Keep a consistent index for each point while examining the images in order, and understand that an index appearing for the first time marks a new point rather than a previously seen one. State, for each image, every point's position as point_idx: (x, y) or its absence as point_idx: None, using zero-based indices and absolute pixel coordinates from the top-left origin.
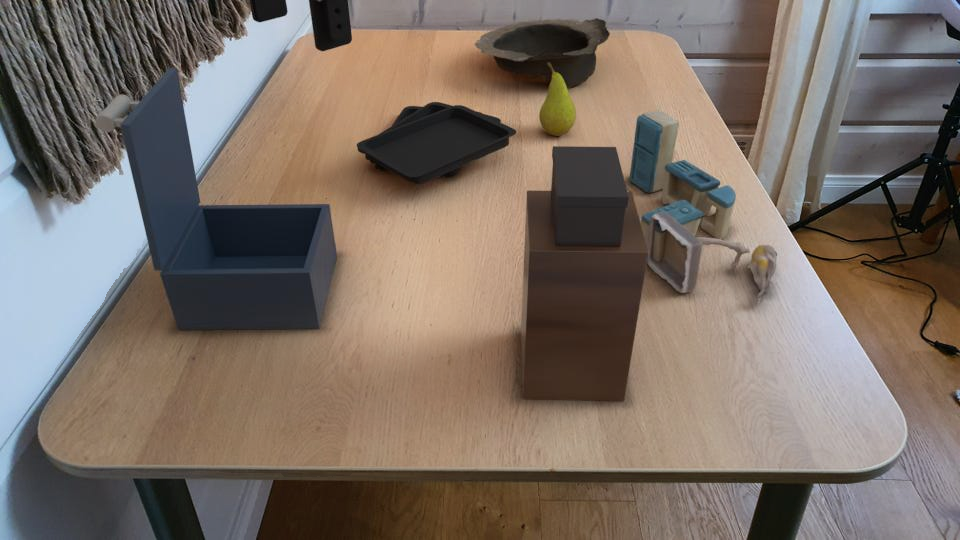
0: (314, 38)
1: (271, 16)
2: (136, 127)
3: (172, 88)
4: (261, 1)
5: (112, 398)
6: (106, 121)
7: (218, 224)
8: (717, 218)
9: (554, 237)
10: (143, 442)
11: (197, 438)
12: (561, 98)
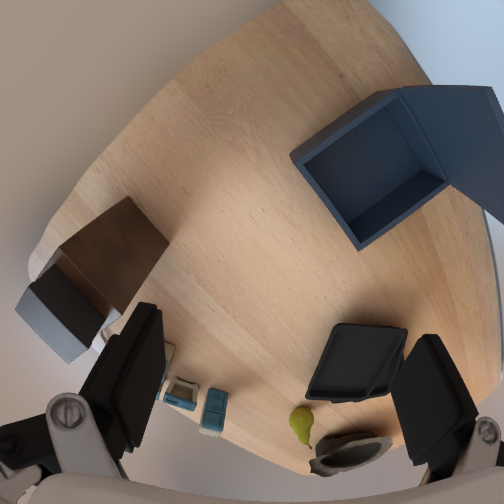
0: (144, 319)
1: (407, 363)
2: (486, 108)
3: None
4: (428, 379)
5: (348, 23)
6: None
7: (429, 182)
8: None
9: (62, 271)
10: (293, 10)
11: (267, 30)
12: (297, 430)
